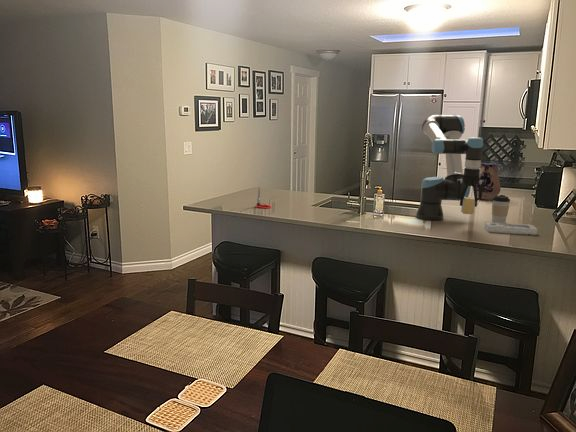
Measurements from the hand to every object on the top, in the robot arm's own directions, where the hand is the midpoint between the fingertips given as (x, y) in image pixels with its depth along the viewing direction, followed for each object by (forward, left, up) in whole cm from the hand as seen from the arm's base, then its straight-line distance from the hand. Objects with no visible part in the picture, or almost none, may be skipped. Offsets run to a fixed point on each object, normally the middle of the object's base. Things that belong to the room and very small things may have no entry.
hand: (467, 212), depth 252 cm
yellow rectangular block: (0, 0, 0) cm, 0 cm away
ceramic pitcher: (+28, +98, -9) cm, 103 cm away
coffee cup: (+20, +19, -9) cm, 29 cm away
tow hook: (-116, +23, -9) cm, 119 cm away
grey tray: (+22, -1, -9) cm, 23 cm away
